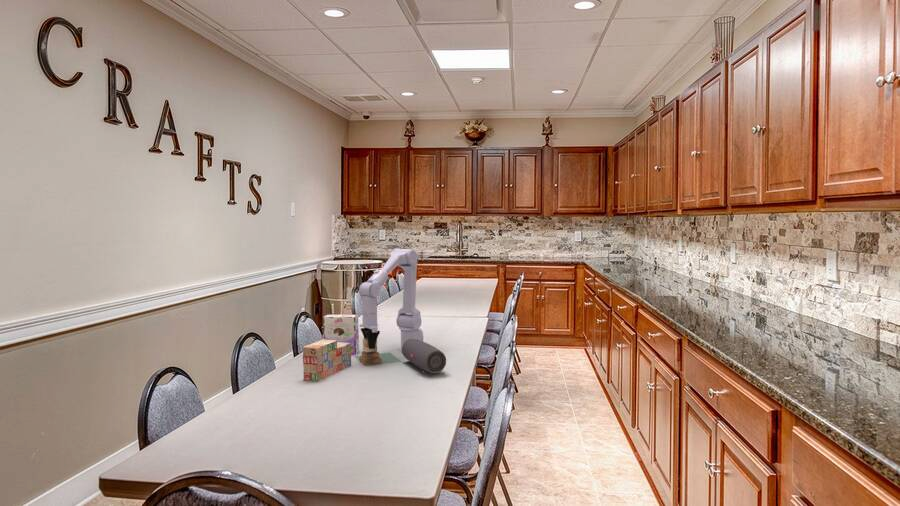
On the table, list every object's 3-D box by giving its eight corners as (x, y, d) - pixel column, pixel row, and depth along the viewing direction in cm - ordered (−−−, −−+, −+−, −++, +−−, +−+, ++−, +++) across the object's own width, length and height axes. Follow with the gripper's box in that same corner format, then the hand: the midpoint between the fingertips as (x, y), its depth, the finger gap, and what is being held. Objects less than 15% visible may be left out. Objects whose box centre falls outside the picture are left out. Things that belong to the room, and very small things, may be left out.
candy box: (359, 352, 233) (358, 314, 232) (355, 355, 228) (355, 316, 227) (328, 351, 235) (327, 313, 234) (323, 355, 229) (322, 316, 228)
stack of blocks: (337, 365, 214) (337, 334, 213) (351, 366, 212) (351, 335, 211) (303, 380, 194) (302, 346, 193) (317, 382, 192) (317, 347, 191)
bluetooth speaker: (400, 363, 215) (399, 338, 215) (421, 360, 220) (421, 335, 219) (424, 378, 195) (424, 350, 195) (447, 374, 200) (447, 347, 199)
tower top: (375, 354, 219) (375, 350, 219) (379, 358, 214) (379, 353, 214) (361, 356, 217) (361, 351, 217) (365, 359, 212) (365, 354, 212)
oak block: (374, 348, 218) (373, 337, 218) (377, 351, 214) (377, 339, 214) (363, 349, 216) (362, 338, 216) (365, 352, 212) (365, 340, 212)
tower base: (376, 359, 220) (376, 354, 220) (381, 363, 214) (381, 358, 214) (359, 361, 217) (359, 356, 217) (364, 365, 211) (364, 360, 211)
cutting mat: (389, 353, 231) (389, 352, 231) (401, 362, 217) (401, 361, 217) (354, 357, 225) (354, 356, 225) (364, 366, 211) (364, 365, 211)
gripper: (355, 310, 219) (355, 344, 220) (364, 316, 206) (365, 352, 207) (372, 309, 222) (372, 342, 223) (382, 315, 209) (383, 350, 210)
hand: (370, 347), depth 215 cm, fingers closed on oak block, 4 cm apart
